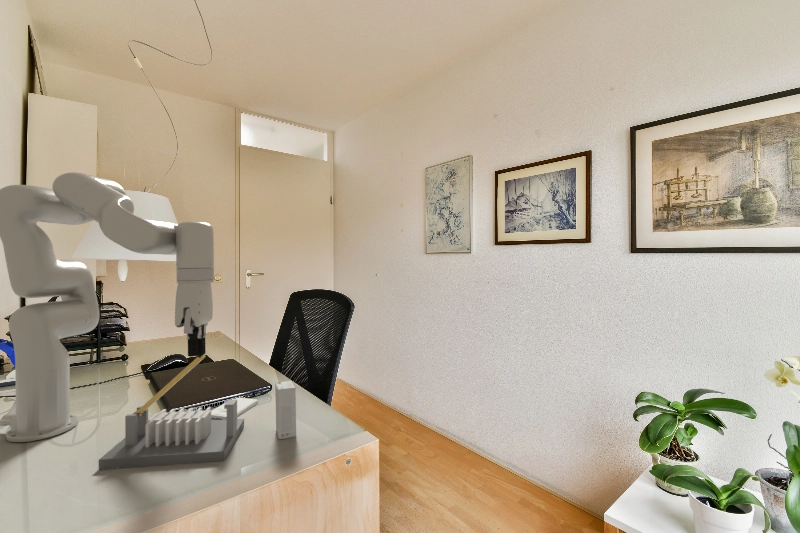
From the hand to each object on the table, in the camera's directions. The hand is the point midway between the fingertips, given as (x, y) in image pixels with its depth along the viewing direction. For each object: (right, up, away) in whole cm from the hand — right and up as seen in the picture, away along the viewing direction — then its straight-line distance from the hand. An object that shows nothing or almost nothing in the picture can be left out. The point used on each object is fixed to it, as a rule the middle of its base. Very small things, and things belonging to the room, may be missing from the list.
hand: (196, 355), depth 83 cm
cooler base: (-4, -21, 0) cm, 21 cm away
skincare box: (+18, -21, +7) cm, 29 cm away
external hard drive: (-1, -21, +20) cm, 29 cm away
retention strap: (-6, -8, -1) cm, 9 cm away
